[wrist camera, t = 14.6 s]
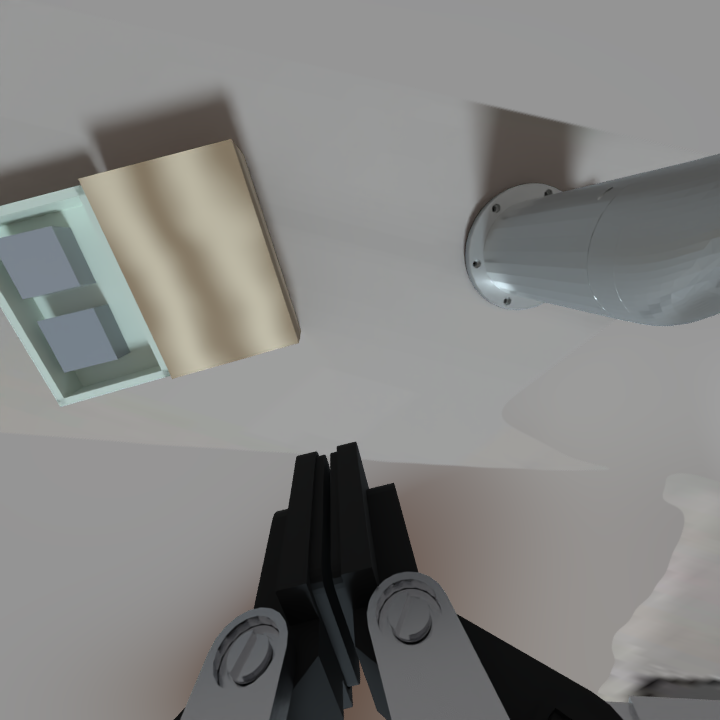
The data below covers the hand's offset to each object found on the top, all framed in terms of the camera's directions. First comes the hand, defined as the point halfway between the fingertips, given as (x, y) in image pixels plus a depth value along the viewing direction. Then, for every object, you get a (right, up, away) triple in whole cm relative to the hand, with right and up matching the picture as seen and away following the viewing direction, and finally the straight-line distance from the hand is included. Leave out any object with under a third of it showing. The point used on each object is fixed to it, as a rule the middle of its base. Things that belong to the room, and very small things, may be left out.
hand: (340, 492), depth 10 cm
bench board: (-14, +13, +25) cm, 31 cm away
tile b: (-27, +12, +20) cm, 36 cm away
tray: (-25, +10, +24) cm, 36 cm away
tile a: (-25, +5, +22) cm, 34 cm away
